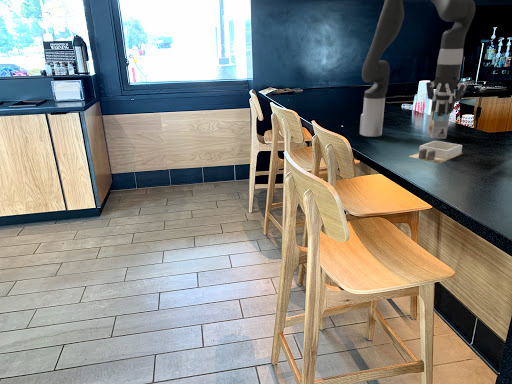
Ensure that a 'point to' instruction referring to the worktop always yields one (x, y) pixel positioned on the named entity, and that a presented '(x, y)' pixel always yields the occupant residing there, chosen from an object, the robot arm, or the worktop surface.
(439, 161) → the board
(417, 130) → the worktop surface
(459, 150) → the white open box
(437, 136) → the coffee box
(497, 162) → the worktop surface
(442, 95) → the push button
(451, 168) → the worktop surface
